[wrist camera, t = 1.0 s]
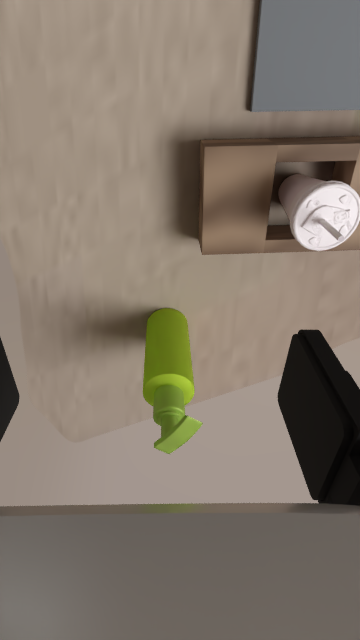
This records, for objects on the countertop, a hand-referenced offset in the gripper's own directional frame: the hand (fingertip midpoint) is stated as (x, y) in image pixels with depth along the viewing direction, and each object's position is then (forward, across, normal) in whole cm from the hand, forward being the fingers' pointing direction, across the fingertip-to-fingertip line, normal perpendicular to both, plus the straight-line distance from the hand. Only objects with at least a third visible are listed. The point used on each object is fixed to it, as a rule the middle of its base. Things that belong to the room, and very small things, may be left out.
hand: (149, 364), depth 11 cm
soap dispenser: (+33, -1, +20) cm, 39 cm away
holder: (+32, -15, +2) cm, 36 cm away
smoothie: (+32, -15, +2) cm, 36 cm away
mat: (+32, -15, -12) cm, 37 cm away
